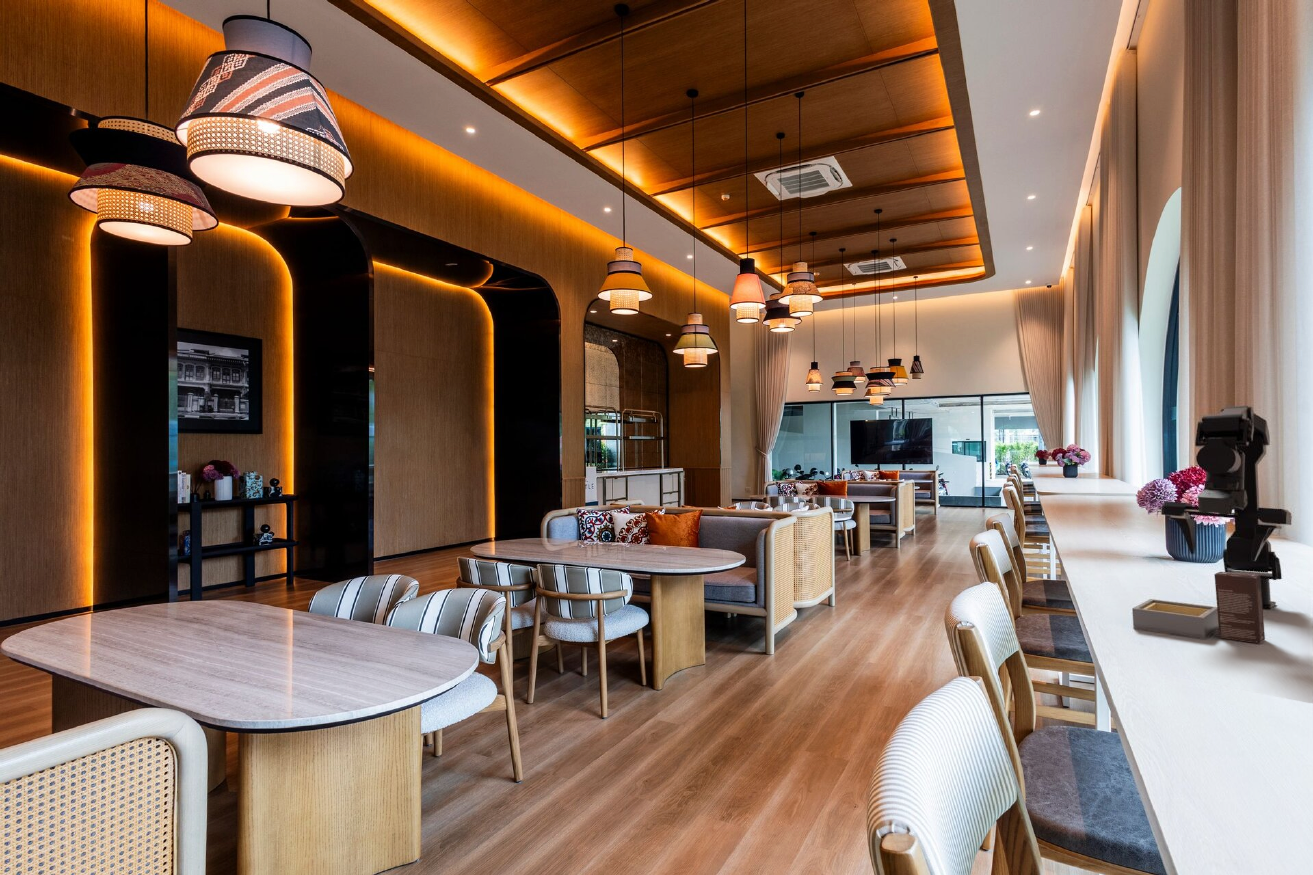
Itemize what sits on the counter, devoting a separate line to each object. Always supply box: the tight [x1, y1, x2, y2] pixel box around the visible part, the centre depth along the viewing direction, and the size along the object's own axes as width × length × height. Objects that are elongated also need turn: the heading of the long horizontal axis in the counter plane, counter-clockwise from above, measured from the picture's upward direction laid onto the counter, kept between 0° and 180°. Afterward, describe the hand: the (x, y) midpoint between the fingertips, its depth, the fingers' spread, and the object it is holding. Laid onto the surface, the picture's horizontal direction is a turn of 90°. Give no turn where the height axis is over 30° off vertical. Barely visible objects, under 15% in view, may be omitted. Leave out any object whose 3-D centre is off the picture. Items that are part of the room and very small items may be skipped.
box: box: [1214, 571, 1266, 645], centre depth 123 cm, size 6×4×12 cm
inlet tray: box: [1132, 598, 1219, 640], centre depth 131 cm, size 11×11×4 cm
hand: (1222, 557), depth 129 cm, fingers open, 9 cm apart
